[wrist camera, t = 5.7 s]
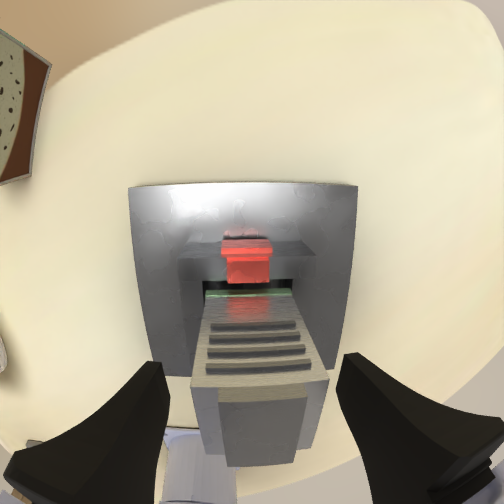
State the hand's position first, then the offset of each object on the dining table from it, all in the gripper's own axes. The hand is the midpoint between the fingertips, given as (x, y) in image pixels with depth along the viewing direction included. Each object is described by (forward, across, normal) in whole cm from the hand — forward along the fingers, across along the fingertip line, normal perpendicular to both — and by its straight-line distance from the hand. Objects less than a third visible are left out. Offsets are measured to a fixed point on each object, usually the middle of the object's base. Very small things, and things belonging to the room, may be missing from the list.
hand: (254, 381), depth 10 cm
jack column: (+4, 0, 0) cm, 4 cm away
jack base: (+9, 0, 0) cm, 9 cm away
